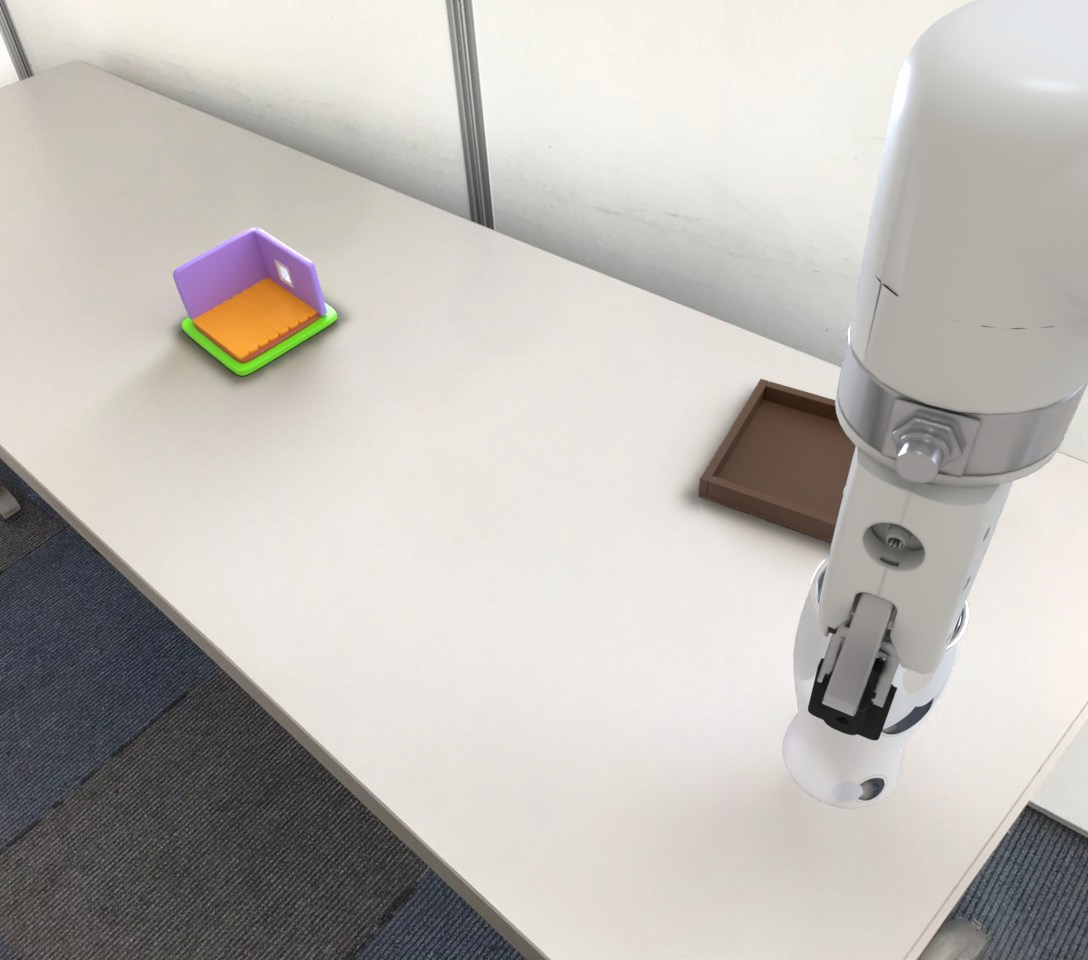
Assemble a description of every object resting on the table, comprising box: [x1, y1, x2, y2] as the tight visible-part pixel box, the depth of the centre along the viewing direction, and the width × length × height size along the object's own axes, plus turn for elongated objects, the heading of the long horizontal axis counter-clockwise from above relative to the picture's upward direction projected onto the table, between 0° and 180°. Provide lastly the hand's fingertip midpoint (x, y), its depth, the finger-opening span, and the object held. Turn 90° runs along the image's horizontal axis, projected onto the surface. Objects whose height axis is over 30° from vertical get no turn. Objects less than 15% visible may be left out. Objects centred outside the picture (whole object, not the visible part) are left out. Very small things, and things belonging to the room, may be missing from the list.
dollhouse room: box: [172, 227, 338, 377], centre depth 94 cm, size 12×12×7 cm
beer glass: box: [781, 555, 970, 810], centre depth 49 cm, size 7×7×15 cm
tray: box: [697, 378, 856, 544], centre depth 74 cm, size 12×12×2 cm
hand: (870, 657), depth 47 cm, fingers closed on beer glass, 7 cm apart
